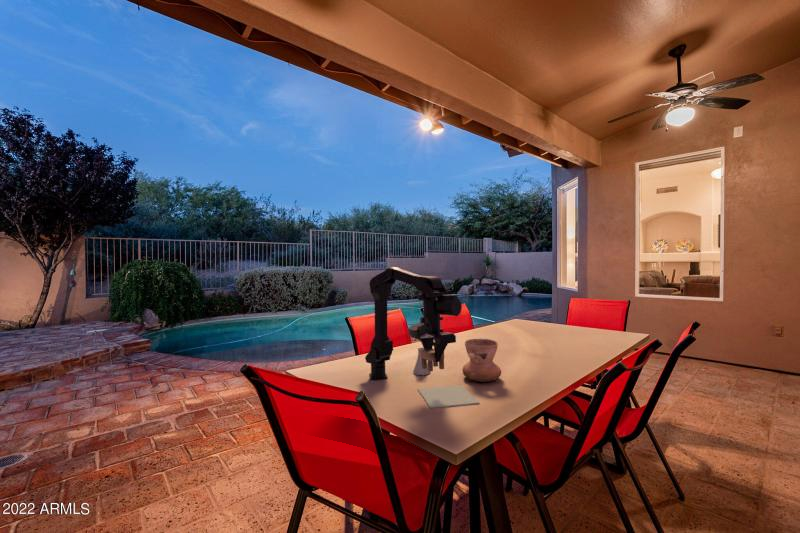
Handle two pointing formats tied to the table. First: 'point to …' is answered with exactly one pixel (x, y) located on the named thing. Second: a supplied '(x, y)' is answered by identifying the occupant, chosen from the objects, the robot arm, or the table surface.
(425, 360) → the walnut stool
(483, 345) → the ceramic jug
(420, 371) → the flask
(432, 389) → the sage mat
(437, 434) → the table surface
